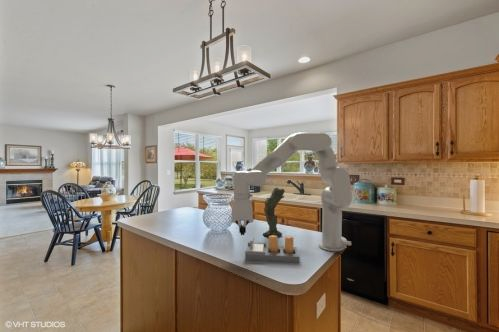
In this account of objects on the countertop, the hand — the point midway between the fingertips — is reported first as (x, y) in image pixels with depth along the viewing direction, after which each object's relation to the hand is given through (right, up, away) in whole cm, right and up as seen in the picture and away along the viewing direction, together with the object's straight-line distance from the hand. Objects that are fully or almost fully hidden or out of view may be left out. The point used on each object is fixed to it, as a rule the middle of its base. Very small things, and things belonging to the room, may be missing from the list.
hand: (242, 234), depth 113 cm
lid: (+7, -6, -3) cm, 10 cm away
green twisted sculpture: (+18, -9, +28) cm, 34 cm away
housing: (+14, -9, -3) cm, 17 cm away
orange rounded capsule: (+15, -9, -3) cm, 18 cm away
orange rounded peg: (+22, -9, -4) cm, 24 cm away
